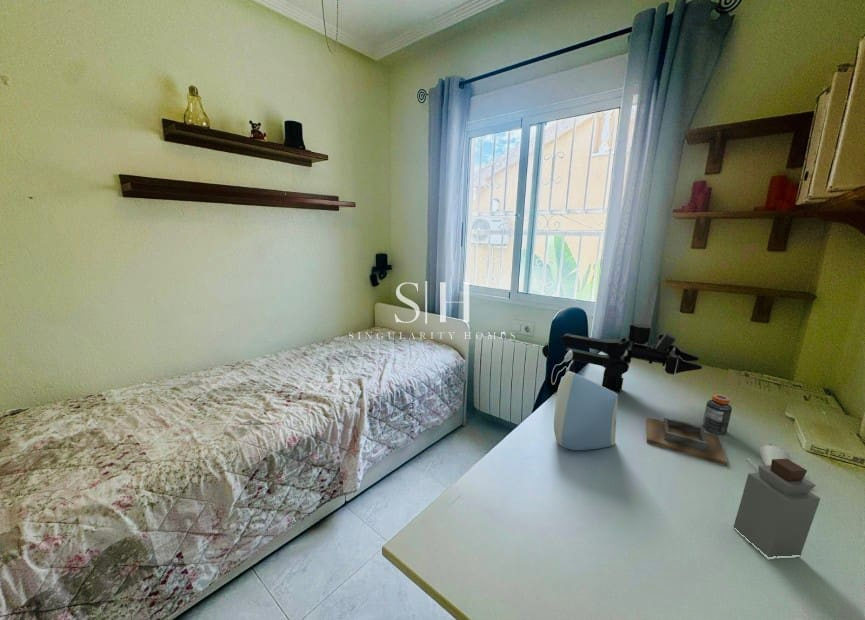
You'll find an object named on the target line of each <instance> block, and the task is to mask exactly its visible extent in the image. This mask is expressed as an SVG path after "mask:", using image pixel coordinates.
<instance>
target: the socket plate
mask: <svg viewBox="0 0 865 620" xmlns="http://www.w3.org/2000/svg"><path fill="white" fill-rule="evenodd" d="M645 422H646V443H647V444H650V445H653V446H658V447H660V448H663V449H668V450H671V451H673V452H674V451H675V452H678V453H681V454H685V455H688V456H691V457H694V458H699V459H702V460H704V461H705V460H706V461H709V462H710V463H711V462H712V463H714V464H715V463H716V464H719V465H722V466H725V467H727V466H728V460H727V457H726V454H725V451H724V449H723V446H722V443H721V442H722V441H720V437H719V434H717V435H716V434H715V433H711V432H705V429H704V428H703V426H701V425H697V424H691V423H688V422H683V421H680V420H677V419H676V420H675V419H673V418H668V417H663V420H659V419H656V418H653V417H648V416H646V421H645Z"/></svg>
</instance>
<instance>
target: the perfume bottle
mask: <svg viewBox="0 0 865 620" xmlns="http://www.w3.org/2000/svg"><path fill="white" fill-rule="evenodd" d="M757 467H758V469H759V470H758V469H757V470H758V472H749V473H748V475H747V478H746V481H745V485H744V488H743V492H742V495H741V499H740V502H739V506H738V510H737V513H736V516H735V521H734V523H733V527H734V528H736V529H737V530H738V531H739V532H740V533H741V534H742V535H744V536H745V537H746V538H747V539H748V540H749V541H750V542H751V543H753V544H754V545H755V546H756V547H757V548H759V549H760V550H761V551H762V552H763V553H764V554H766V555H767V556H768V557H773V556H776V557H777V556H792V555H802V553H803V550H804V548H805V547H804V546H805V544H806V541H807V538H808V535H809V532H810V530H811V526H812V524H813V521H814V519H815V515H816V513H817V509H818V507H819V504H820V501H821V498H820V497H819V496H817V495H816V494H814V493H813V492H812V490H813V489H814V488H815V487H816V486H817V485H816V484H815V483H814V482H812V481H810V480H809V479H807V478H805V476H806V474H807V471H808V470H807V469H805V468H804V467H802V466H801V465H799V464H797V463H795V462H794V461H793V460H791V461H790V460H789V459H772V463H771V465H764V464H763V465H757Z"/></svg>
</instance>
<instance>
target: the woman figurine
mask: <svg viewBox="0 0 865 620" xmlns="http://www.w3.org/2000/svg"><path fill="white" fill-rule="evenodd" d="M758 450H759V451H758V452H759V456H760V459H761V461H762V462H763V466H764V465H771V463H772V459H789V460H790V461H792V457H791V455H790V453H788V452H787V451H786V450H785V449H784V448H782V447H778V446H774V445H772V444H768V445H763V446H762V447H760V448H759V449H758ZM744 460H745V461H746V462H747V463H749V464H751V465H752V466H753V467H754V468H755V469H756V470H758V471H759V469H758V465H756V464H755V463H753V462H752V461H751V459H750V457H749V458H747V457H744Z"/></svg>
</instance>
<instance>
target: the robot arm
mask: <svg viewBox="0 0 865 620" xmlns="http://www.w3.org/2000/svg"><path fill="white" fill-rule="evenodd" d="M652 329H653V328H652V326H651V325H649V324H644V323H635V324H634V323H630V324H629V333H628V336H625V337H623V338H604V339H603V338H601V339H600V338H595V337H594V338H593V337H588V336H583V335H582V336H581V335H577V334H572V333H568V332H567V334H566V333H564V334H565V335H564V334H563V335H564V336H563V335H562V336H563V337H562V336H561V337H562V340H563V346H562V348H563V347H567V346H569V345H570V346H573V347H580V348H584V349H591V350H596V351H599V352H602V353H604V354H601V353H597V352H592V351H591V352H590V351H586V350H580V349H575V348H571V347H567V349H565V350H564V352H565V355H566V354H567V352H568V351H569V350H572V352H573V357H572V359H571V361H572V360H573V361H577V362H582V363H587V364H590V365H591V364H592V365H596V366H600V367H603V368H604V371H603V377H602V383H601V386H603V387H605V388H607V389H609V390H611V391H613V392H615V393H620V392H621V391H622V389H623V385H624V377H623V374H625V373H627V372H628V371H629V368H630V364H631V362H632V361H631V360H632V359H634V360H640V361H644V362H648V364H651V365H652V364H653V363H655V364H659V365H660V364H661V366H662V367H664V371H665V372H666V373H667V374H669V375H673V376H674V375H675V374H679V373H684V372H690V371H691V372H692V371H696V370H701V369H702V368H703V365H702V364H698V363H694V362H695V361H697V362H698V361H699V357H698V356H696V355H693V354H692V353H688V352H685V351H684V350H681V349H680V348H679V347H678V345H677V344H675V341H676V336H675V335H672V334H670V333H669V332H664V333H659V334H658V335H657V339H658V342H657V344H654V343H653V344H651V345H646V343H649V342H650V339H651V333H652ZM549 342H550V341H549ZM549 342H547V343H546V344H545V345H544V346H543V347H542V349H541V353H542V355H543V356H544V358H547V355H548V345H549ZM630 344H631V346H630ZM626 351H627V352H626ZM547 359H548V358H547Z"/></svg>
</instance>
